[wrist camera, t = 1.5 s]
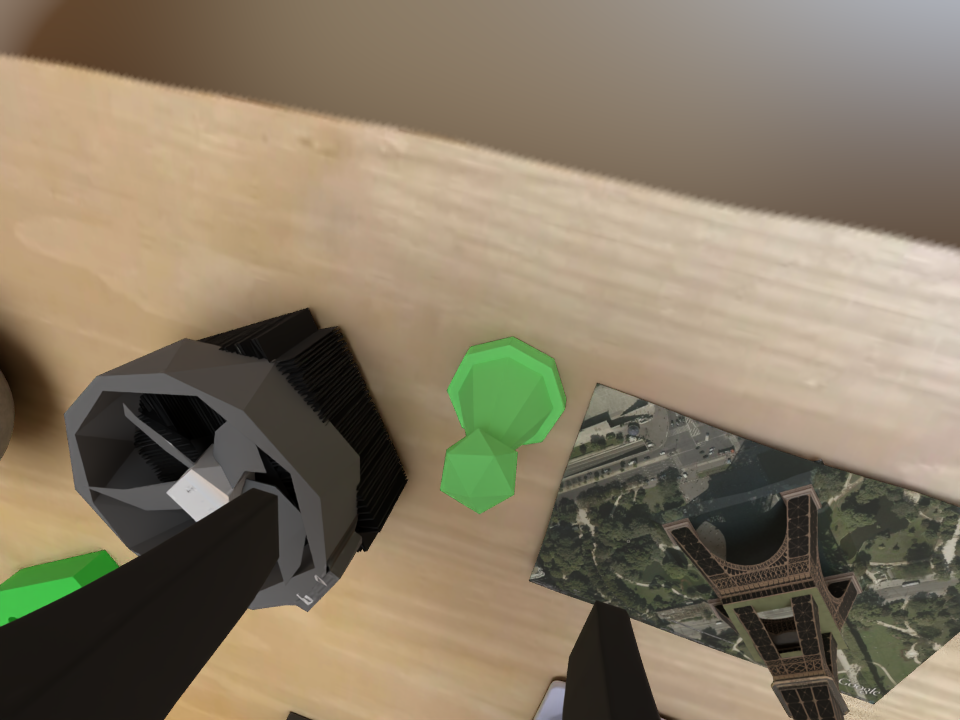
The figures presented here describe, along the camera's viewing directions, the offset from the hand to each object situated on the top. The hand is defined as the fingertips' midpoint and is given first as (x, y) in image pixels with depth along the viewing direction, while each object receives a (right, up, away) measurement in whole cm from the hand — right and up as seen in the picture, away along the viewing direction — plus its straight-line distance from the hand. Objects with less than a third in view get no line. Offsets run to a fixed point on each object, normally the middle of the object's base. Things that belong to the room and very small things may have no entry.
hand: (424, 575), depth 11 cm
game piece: (+2, +4, +8) cm, 9 cm away
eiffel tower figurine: (+11, -3, +8) cm, 14 cm away
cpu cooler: (-7, +2, +11) cm, 13 cm away
